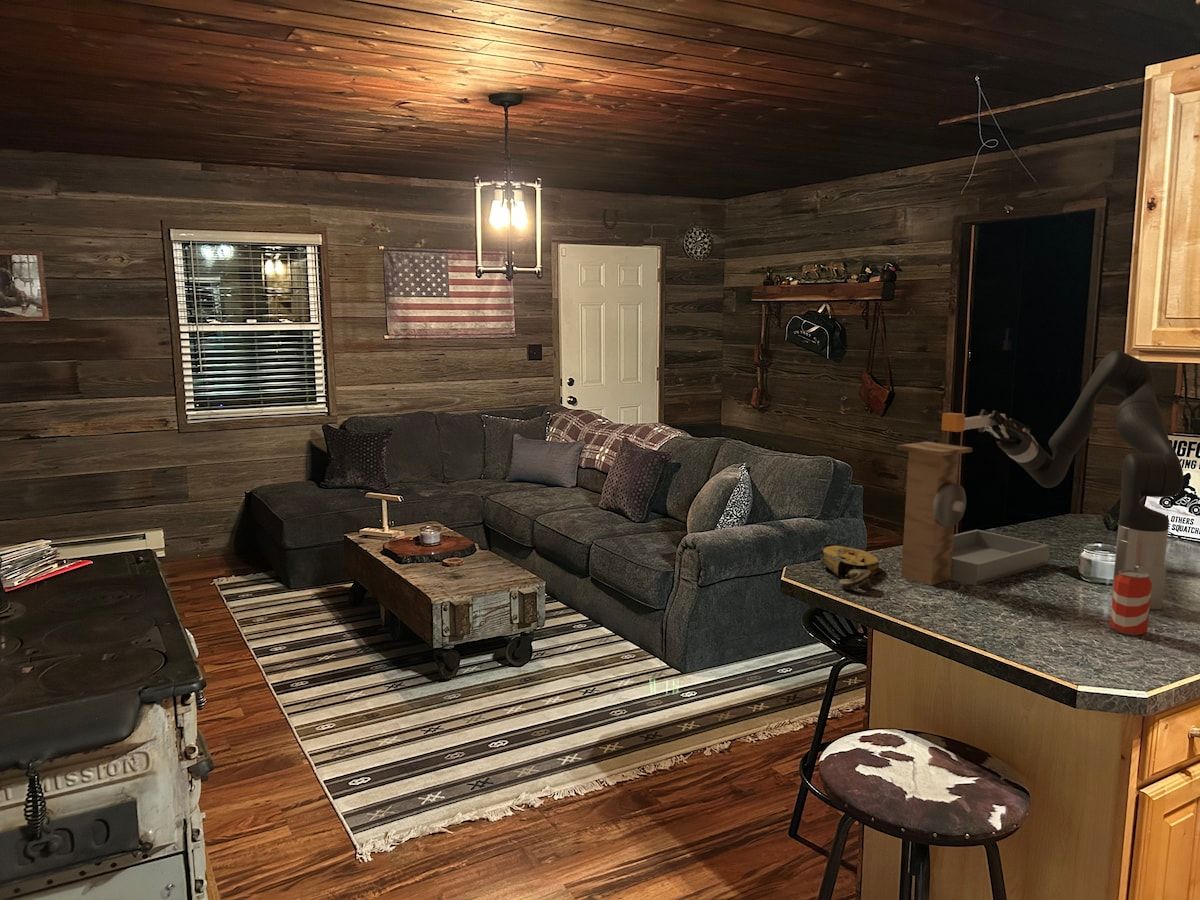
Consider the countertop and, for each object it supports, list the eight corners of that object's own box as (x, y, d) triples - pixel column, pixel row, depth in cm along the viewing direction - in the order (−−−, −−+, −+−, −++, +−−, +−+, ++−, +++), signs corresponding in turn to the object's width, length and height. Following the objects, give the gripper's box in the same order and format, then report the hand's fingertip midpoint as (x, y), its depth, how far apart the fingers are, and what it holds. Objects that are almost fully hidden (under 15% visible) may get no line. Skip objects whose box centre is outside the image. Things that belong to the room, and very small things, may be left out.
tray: (975, 547, 240) (976, 529, 240) (1047, 564, 224) (1049, 545, 223) (902, 565, 222) (904, 546, 221) (976, 585, 206) (977, 564, 205)
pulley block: (826, 565, 199) (821, 534, 228) (821, 589, 200) (816, 555, 229) (890, 578, 196) (876, 545, 226) (885, 603, 197) (872, 567, 227)
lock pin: (992, 422, 223) (993, 406, 222) (1007, 424, 220) (1008, 408, 219) (941, 430, 211) (942, 413, 210) (956, 431, 207) (957, 415, 207)
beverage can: (1106, 631, 176) (1112, 573, 174) (1115, 623, 181) (1121, 567, 179) (1141, 639, 172) (1147, 580, 170) (1149, 631, 176) (1155, 573, 175)
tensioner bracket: (919, 568, 219) (927, 441, 215) (970, 582, 208) (980, 448, 203) (888, 576, 212) (896, 445, 208) (940, 591, 201) (950, 453, 196)
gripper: (997, 427, 234) (966, 397, 224) (1049, 433, 222) (1019, 402, 213) (987, 452, 232) (956, 423, 222) (1039, 459, 221) (1009, 429, 211)
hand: (987, 413), depth 218 cm, fingers closed on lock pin, 2 cm apart
